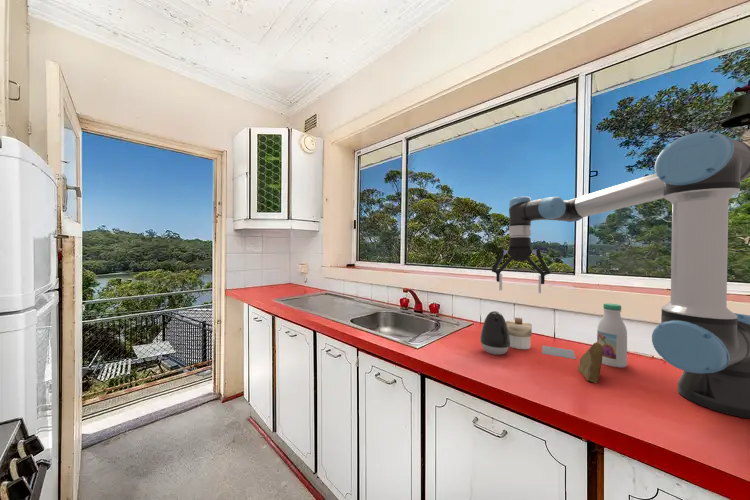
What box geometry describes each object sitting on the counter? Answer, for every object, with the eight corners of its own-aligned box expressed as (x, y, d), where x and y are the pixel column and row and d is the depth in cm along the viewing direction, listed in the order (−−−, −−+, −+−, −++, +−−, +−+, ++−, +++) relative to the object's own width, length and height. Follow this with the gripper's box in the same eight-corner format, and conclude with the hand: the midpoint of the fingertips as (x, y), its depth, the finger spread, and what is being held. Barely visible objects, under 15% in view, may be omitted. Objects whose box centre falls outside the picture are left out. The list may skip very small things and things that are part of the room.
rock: (608, 380, 77) (621, 367, 83) (585, 351, 81) (599, 340, 87) (573, 390, 85) (587, 377, 91) (554, 362, 89) (568, 352, 94)
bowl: (529, 351, 105) (529, 338, 105) (506, 347, 109) (506, 334, 109) (530, 345, 112) (530, 332, 112) (508, 341, 116) (508, 329, 116)
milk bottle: (615, 359, 98) (616, 302, 98) (633, 369, 90) (634, 307, 90) (591, 358, 99) (592, 301, 99) (607, 368, 91) (608, 306, 91)
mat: (575, 360, 97) (575, 359, 97) (542, 354, 102) (542, 353, 102) (573, 351, 106) (573, 350, 106) (542, 346, 111) (542, 345, 111)
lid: (531, 338, 105) (531, 322, 105) (504, 334, 109) (504, 319, 109) (531, 332, 112) (532, 317, 112) (507, 329, 117) (507, 314, 117)
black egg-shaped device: (482, 356, 100) (482, 313, 100) (478, 346, 110) (478, 307, 110) (513, 359, 98) (513, 315, 98) (506, 348, 108) (507, 309, 108)
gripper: (557, 236, 107) (557, 292, 107) (487, 238, 120) (487, 288, 120) (558, 236, 101) (558, 295, 101) (484, 237, 114) (484, 290, 114)
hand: (519, 291), depth 110 cm, fingers open, 13 cm apart
